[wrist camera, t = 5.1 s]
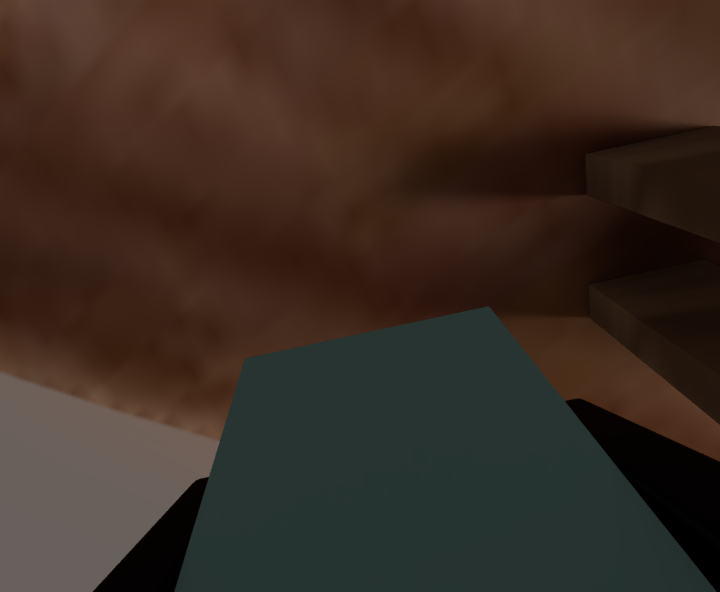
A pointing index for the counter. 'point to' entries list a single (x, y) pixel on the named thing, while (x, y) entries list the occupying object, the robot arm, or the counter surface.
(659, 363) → the walnut domino
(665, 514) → the robot arm
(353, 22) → the counter surface
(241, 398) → the teal domino
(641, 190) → the walnut domino
